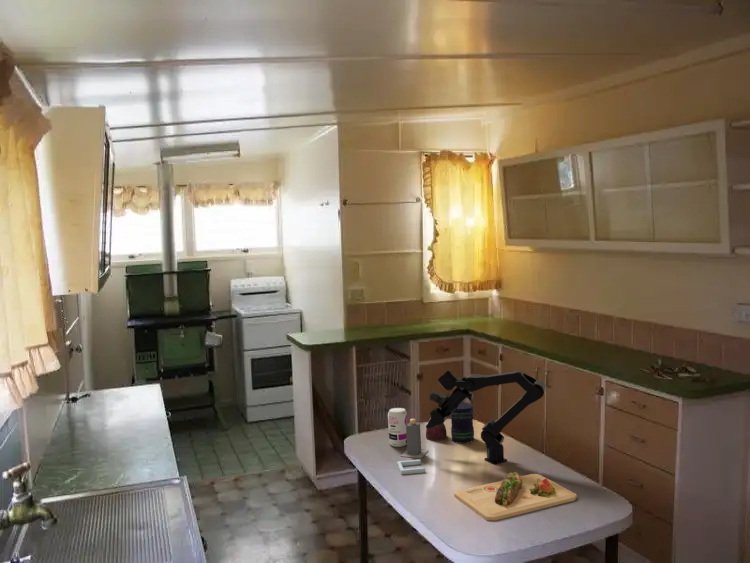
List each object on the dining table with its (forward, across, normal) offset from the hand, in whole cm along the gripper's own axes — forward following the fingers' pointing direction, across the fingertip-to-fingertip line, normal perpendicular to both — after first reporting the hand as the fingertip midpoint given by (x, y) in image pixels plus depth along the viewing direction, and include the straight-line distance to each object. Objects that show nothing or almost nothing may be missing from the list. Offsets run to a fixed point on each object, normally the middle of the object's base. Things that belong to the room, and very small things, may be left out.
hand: (429, 424), depth 263 cm
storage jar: (+4, -22, +14) cm, 26 cm away
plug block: (+14, 0, +4) cm, 14 cm away
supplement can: (+22, -10, -3) cm, 24 cm away
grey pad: (+14, 0, +4) cm, 15 cm away
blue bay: (+11, +16, +7) cm, 21 cm away
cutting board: (-18, +32, +37) cm, 53 cm away
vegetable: (+12, -22, +6) cm, 26 cm away
